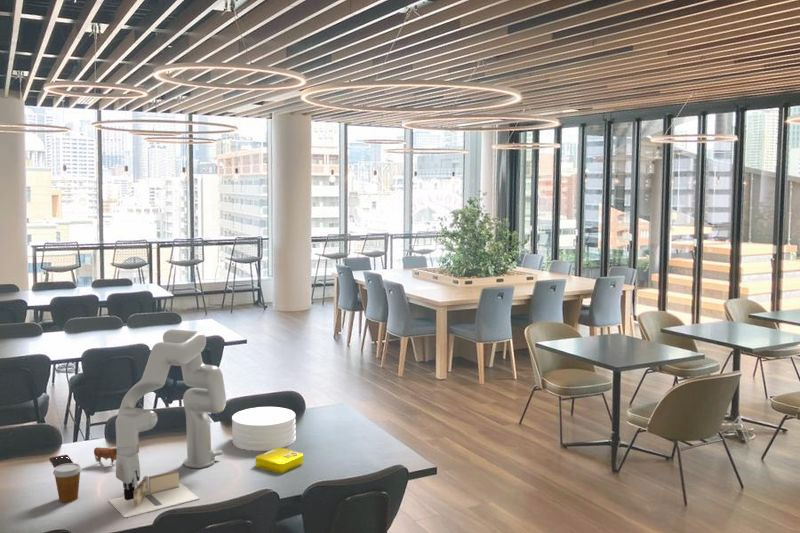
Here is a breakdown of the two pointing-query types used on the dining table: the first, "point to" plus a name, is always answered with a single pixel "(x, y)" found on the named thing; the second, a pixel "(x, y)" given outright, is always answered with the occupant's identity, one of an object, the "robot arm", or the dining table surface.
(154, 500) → the card
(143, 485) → the fence panel
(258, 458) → the element tile
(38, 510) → the dining table surface
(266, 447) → the plate stack
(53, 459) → the smartphone
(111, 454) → the bull figurine
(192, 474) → the dining table surface
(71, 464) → the disposable coffee cup
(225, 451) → the dining table surface
